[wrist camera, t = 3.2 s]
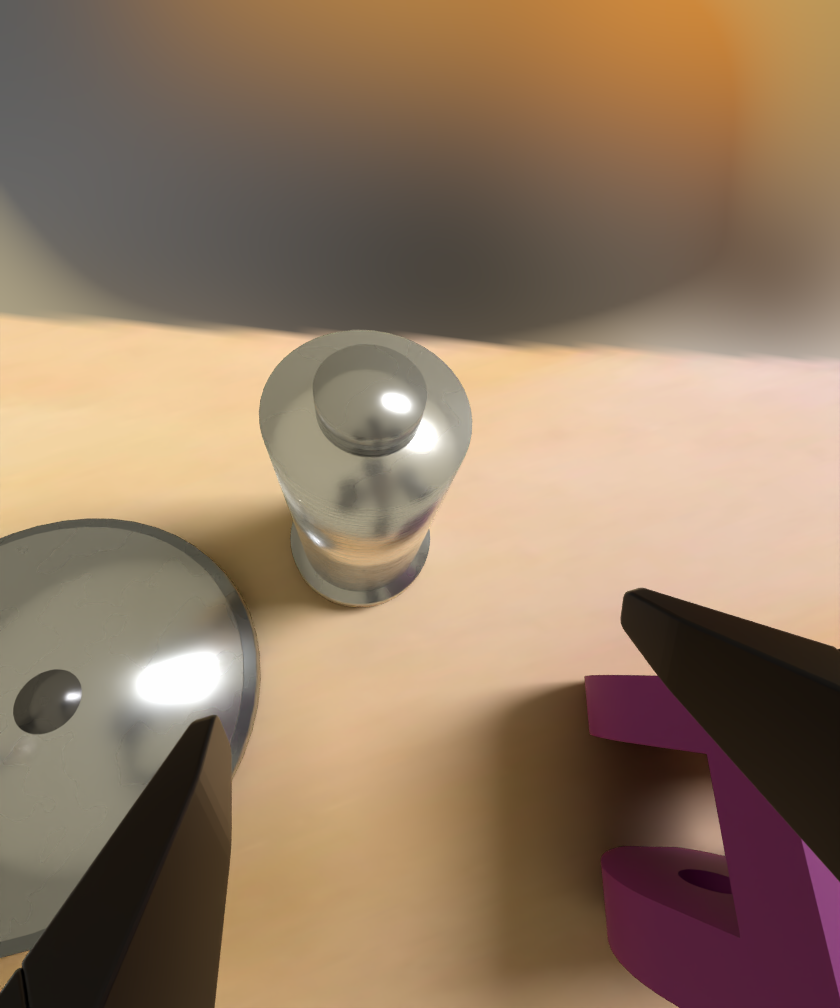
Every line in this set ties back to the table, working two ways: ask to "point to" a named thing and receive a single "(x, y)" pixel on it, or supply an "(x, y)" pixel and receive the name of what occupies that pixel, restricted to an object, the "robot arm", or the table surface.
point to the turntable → (102, 692)
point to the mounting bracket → (715, 881)
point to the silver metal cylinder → (363, 458)
